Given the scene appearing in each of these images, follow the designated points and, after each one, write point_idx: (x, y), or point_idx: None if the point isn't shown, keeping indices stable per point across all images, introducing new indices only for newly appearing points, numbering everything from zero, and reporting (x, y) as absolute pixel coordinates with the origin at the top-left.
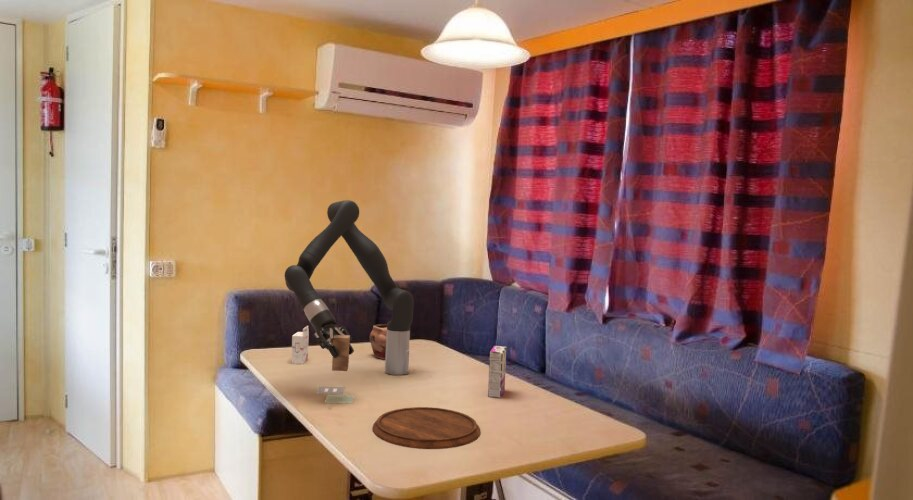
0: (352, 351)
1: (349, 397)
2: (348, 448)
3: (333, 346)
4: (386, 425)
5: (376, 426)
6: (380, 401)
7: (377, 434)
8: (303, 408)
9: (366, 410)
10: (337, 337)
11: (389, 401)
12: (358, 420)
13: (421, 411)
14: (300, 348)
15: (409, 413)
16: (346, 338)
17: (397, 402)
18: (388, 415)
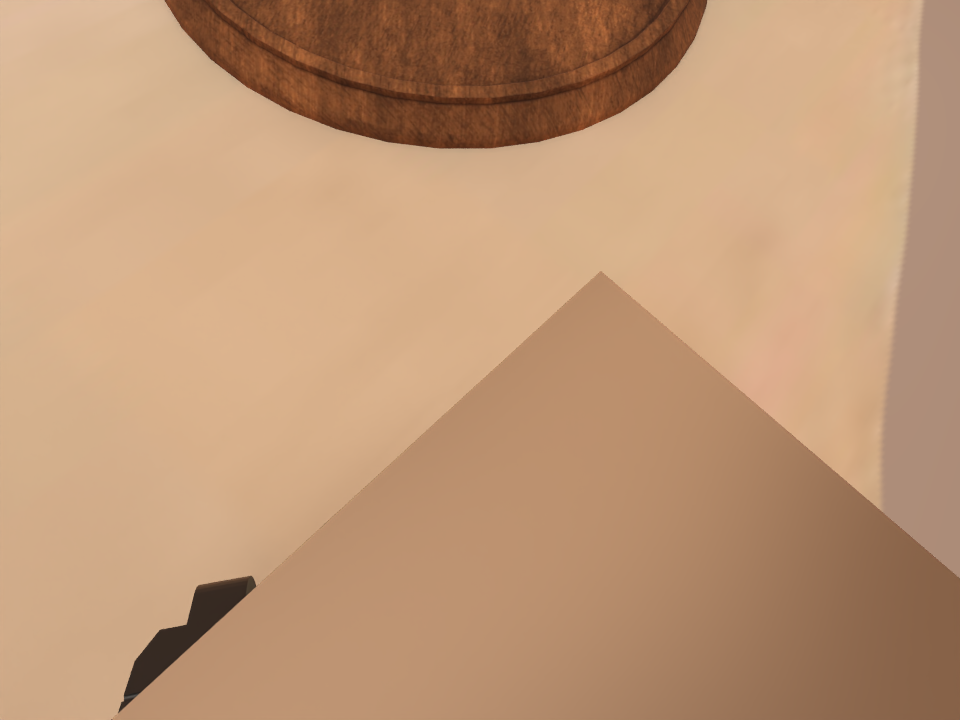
0: (251, 584)
1: None
2: (888, 16)
3: None
4: (628, 2)
5: (673, 32)
6: (201, 402)
7: (704, 8)
8: None
9: (458, 317)
10: (927, 636)
11: (149, 354)
12: (634, 217)
13: (291, 1)
14: None
15: (378, 25)
16: (661, 330)
17: (129, 297)
18: (504, 80)
